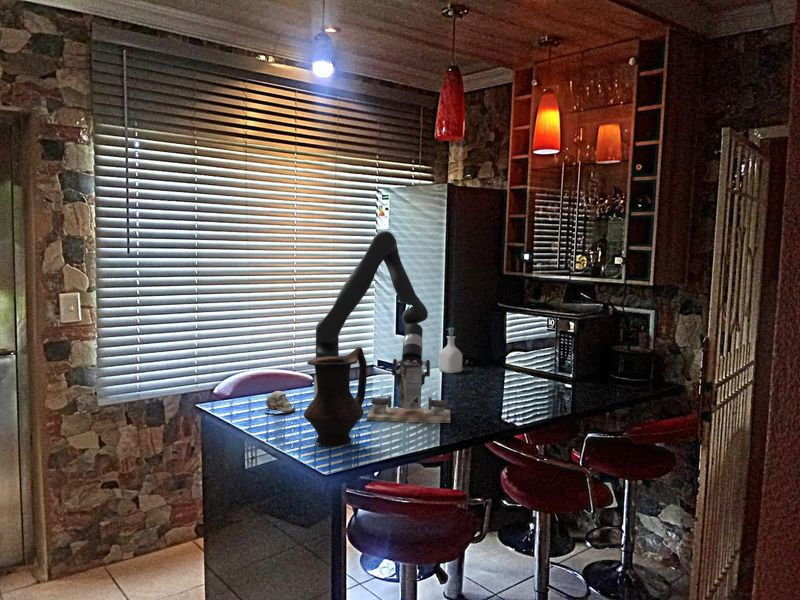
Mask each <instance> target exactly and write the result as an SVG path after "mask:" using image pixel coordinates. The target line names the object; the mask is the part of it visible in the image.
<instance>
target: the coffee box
mask: <svg viewBox="0 0 800 600" xmlns="http://www.w3.org/2000/svg"><path fill="white" fill-rule="evenodd" d="M399 361H400V364H399V369H400V385H399V405H400V406H401V408H404V409H422V386H421V383H422V370H423V365H422V366H421V365H420V364H419V363H417V362H413V361H401V360H399Z"/></svg>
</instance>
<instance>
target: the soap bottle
mask: <svg viewBox="0 0 800 600" xmlns="http://www.w3.org/2000/svg"><path fill="white" fill-rule="evenodd" d="M445 330H446V331H447V330H448V335H447V336H446V338H447V344H446V346H445V347H444V348H442V349H441V351H440V352H439V353H438V370H439V372H443V373H447V374H455V373H461V372H462V370H463V354H462V352H461V350H459V348H457V347H456V345H455V338H456V336H455V335H454V332H455V327H448V328H447V329H445ZM453 335H454V336H453Z"/></svg>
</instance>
